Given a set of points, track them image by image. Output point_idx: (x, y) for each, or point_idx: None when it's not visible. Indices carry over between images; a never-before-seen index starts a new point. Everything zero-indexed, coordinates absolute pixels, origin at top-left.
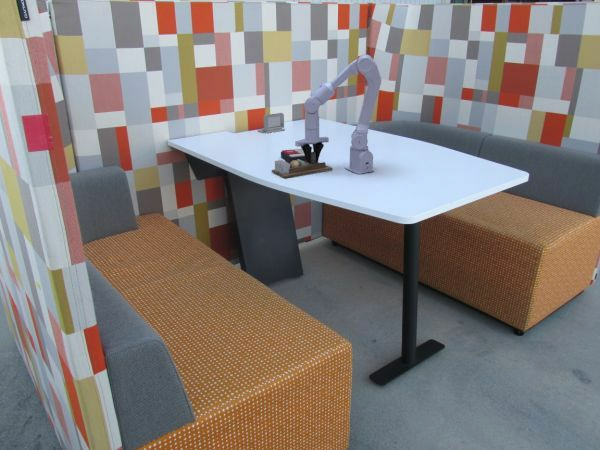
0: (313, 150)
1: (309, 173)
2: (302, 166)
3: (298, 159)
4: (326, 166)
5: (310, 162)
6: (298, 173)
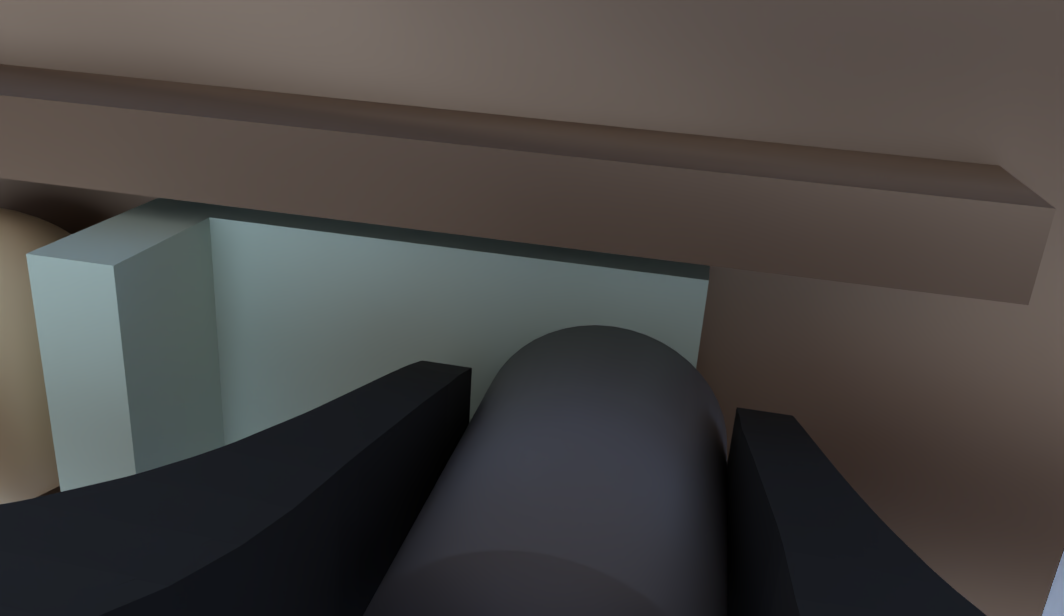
0: (793, 590)
1: None
2: None
3: (87, 278)
4: (975, 597)
5: None
6: None
